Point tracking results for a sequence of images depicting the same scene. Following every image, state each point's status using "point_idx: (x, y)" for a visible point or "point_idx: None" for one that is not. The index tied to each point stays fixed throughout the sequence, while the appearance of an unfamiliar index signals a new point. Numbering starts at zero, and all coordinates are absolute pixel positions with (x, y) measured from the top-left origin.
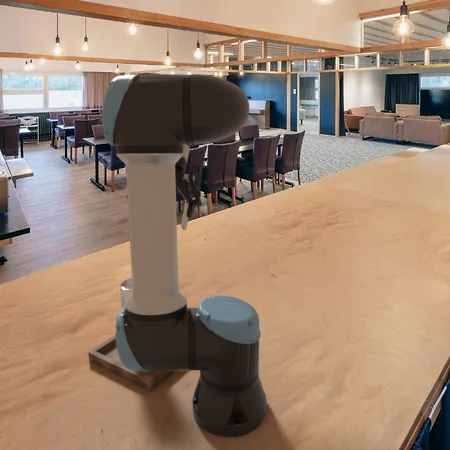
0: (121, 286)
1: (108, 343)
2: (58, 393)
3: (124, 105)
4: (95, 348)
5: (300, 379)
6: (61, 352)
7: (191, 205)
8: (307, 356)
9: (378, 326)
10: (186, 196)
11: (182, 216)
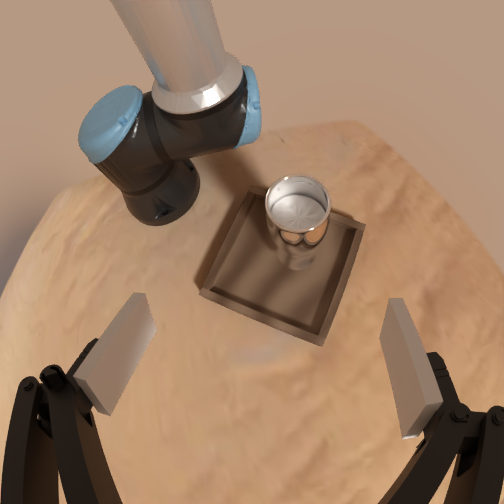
0: (319, 183)
1: (349, 251)
2: (359, 173)
3: None
4: (360, 234)
5: (94, 246)
6: (410, 241)
7: (69, 377)
8: (81, 289)
9: (20, 354)
10: (65, 419)
11: (124, 320)
